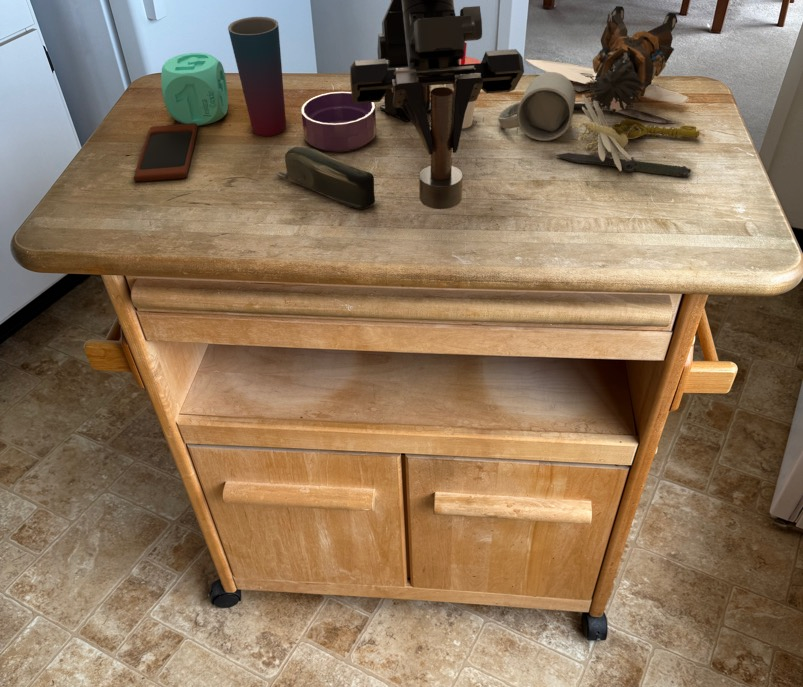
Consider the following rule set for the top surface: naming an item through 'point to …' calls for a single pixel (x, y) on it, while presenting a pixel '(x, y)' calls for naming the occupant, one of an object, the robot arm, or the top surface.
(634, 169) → the knife
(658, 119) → the knife
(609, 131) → the toy
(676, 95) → the knife
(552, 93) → the ceramic mug
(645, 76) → the figurine
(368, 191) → the dark green rounded bar
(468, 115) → the cup
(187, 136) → the smartphone
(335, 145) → the bowl
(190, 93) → the decorative dice
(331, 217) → the top surface
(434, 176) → the brown handled tamper
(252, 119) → the cup
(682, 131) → the key
